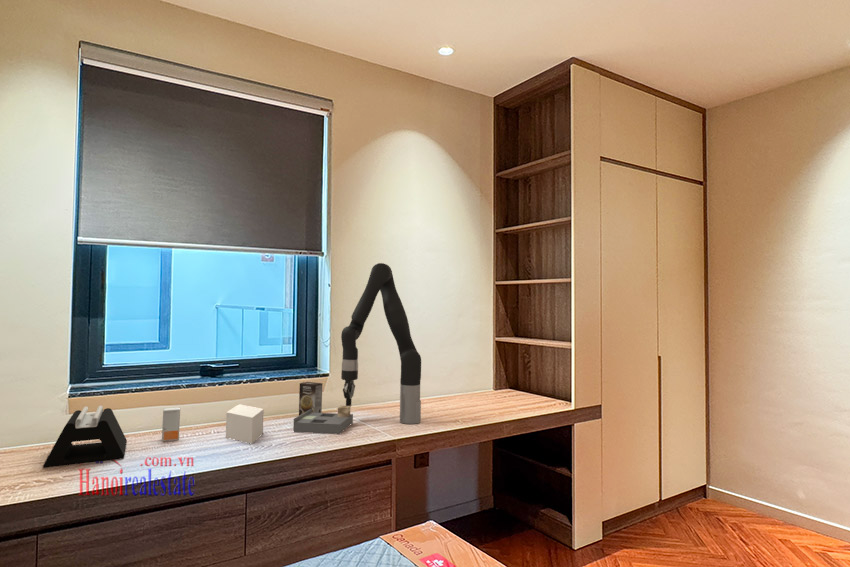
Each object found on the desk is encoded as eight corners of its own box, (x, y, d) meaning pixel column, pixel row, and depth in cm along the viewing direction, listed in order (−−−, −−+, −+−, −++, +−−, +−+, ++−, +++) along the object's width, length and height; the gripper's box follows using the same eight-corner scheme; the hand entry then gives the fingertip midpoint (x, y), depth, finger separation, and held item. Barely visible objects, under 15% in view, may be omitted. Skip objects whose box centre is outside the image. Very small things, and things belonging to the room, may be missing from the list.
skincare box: (161, 441, 195) (162, 410, 196) (161, 439, 199) (162, 408, 200) (179, 440, 198) (180, 409, 199) (179, 437, 202) (180, 407, 202)
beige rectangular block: (231, 447, 190) (232, 419, 190) (220, 430, 215) (221, 405, 216) (270, 442, 197) (271, 415, 198) (255, 426, 222) (256, 402, 223)
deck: (352, 423, 230) (353, 410, 230) (339, 434, 210) (339, 420, 210) (310, 421, 233) (310, 409, 233) (293, 431, 213) (293, 418, 213)
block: (350, 414, 229) (350, 406, 229) (347, 417, 224) (347, 407, 224) (340, 414, 229) (340, 405, 229) (337, 416, 225) (337, 407, 225)
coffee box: (298, 417, 240) (298, 383, 240) (306, 414, 246) (306, 381, 246) (314, 419, 236) (315, 384, 237) (322, 416, 242) (322, 382, 243)
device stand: (42, 468, 163) (45, 421, 164) (54, 450, 183) (56, 408, 184) (124, 459, 174) (125, 415, 174) (126, 443, 194) (128, 403, 194)
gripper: (353, 371, 228) (352, 410, 228) (361, 367, 242) (360, 404, 241) (337, 370, 229) (336, 409, 229) (345, 367, 243) (344, 403, 242)
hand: (348, 406), depth 235 cm, fingers closed
